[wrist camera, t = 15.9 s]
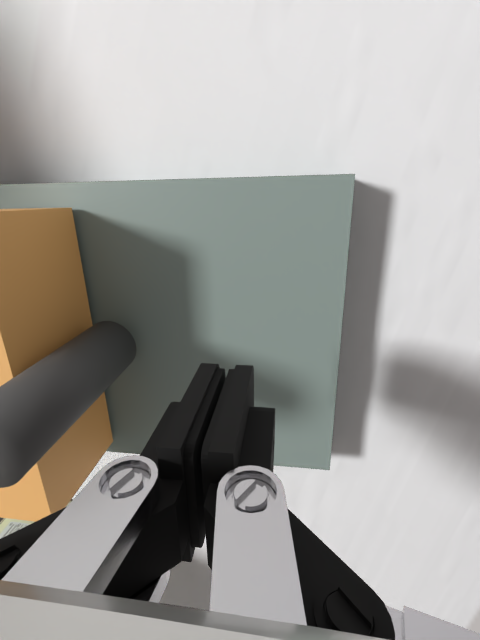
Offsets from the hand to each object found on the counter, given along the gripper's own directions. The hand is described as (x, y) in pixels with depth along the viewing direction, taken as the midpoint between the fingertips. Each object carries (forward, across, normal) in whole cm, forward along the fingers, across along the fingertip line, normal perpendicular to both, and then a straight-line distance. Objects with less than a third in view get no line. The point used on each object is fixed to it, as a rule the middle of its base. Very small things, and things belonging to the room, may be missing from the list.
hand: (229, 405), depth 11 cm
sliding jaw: (+5, +8, 0) cm, 9 cm away
